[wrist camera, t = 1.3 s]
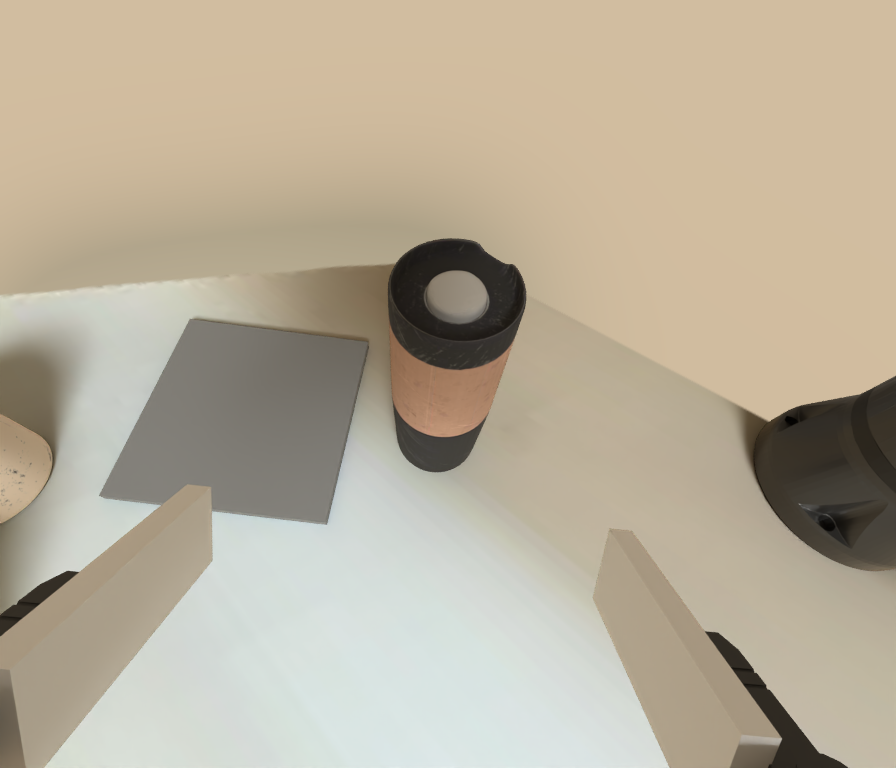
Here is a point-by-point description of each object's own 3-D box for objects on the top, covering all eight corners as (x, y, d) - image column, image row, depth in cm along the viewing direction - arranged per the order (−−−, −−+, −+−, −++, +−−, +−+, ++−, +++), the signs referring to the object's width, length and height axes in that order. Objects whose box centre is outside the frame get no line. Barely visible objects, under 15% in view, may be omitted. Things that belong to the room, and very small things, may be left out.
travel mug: (396, 479, 38) (389, 348, 20) (392, 402, 41) (382, 237, 24) (482, 472, 39) (543, 341, 21) (470, 397, 42) (514, 234, 25)
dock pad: (368, 346, 44) (368, 341, 44) (326, 524, 35) (325, 522, 35) (193, 323, 44) (190, 319, 43) (105, 498, 35) (99, 495, 34)
